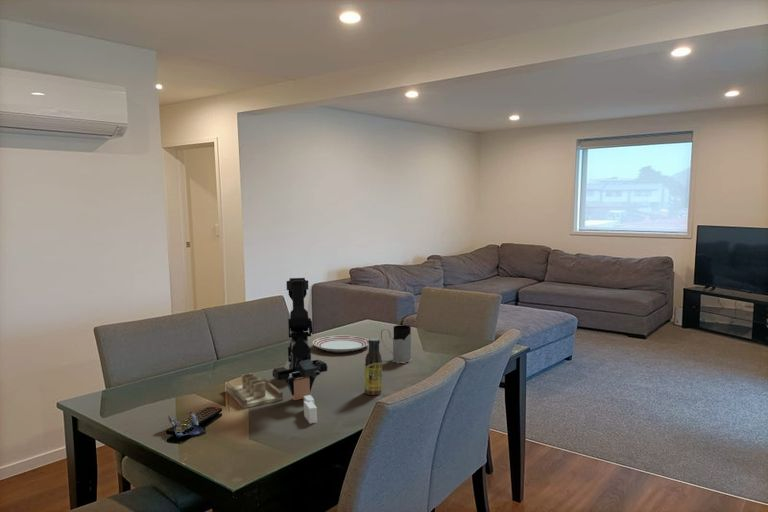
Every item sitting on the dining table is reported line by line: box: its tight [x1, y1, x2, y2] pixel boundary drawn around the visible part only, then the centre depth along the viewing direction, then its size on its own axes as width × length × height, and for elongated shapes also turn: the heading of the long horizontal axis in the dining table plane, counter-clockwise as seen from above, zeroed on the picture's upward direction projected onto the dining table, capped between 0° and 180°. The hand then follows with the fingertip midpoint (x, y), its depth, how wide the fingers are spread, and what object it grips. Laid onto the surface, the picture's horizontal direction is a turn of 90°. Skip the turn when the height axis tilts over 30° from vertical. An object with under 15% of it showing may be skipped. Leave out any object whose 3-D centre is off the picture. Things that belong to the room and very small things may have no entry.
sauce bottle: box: [363, 337, 383, 396], centre depth 191 cm, size 7×6×20 cm
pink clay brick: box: [291, 376, 311, 401], centre depth 186 cm, size 6×2×7 cm, turn 123°
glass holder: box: [380, 324, 413, 362], centre depth 231 cm, size 9×14×15 cm, turn 71°
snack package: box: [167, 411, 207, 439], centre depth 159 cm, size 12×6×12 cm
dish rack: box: [225, 372, 284, 409], centre depth 189 cm, size 14×20×6 cm
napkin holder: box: [303, 394, 318, 425], centre depth 171 cm, size 15×11×6 cm
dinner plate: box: [312, 334, 369, 353], centre depth 253 cm, size 28×27×3 cm
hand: (300, 393), depth 187 cm, fingers closed on pink clay brick, 6 cm apart
